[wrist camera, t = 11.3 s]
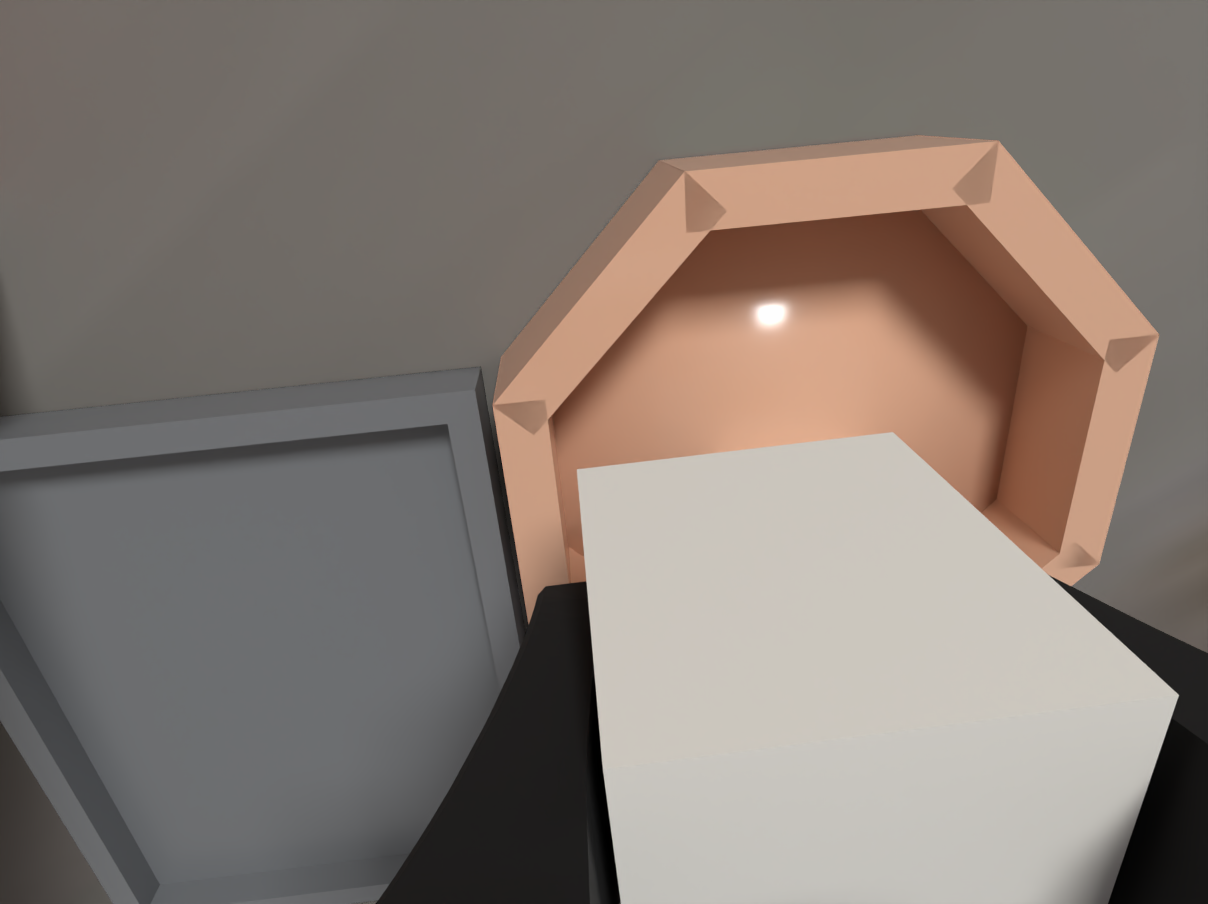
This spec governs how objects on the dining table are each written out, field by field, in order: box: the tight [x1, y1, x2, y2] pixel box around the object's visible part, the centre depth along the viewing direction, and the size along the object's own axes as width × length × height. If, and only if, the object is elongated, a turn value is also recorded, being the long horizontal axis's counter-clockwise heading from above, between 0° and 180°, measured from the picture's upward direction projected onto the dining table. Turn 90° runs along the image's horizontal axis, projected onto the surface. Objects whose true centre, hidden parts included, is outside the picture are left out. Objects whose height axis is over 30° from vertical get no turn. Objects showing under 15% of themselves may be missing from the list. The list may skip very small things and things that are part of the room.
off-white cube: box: [577, 432, 1179, 904], centre depth 8 cm, size 4×4×4 cm
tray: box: [0, 367, 525, 904], centre depth 19 cm, size 16×13×2 cm
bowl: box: [492, 135, 1159, 624], centre depth 16 cm, size 13×13×3 cm
